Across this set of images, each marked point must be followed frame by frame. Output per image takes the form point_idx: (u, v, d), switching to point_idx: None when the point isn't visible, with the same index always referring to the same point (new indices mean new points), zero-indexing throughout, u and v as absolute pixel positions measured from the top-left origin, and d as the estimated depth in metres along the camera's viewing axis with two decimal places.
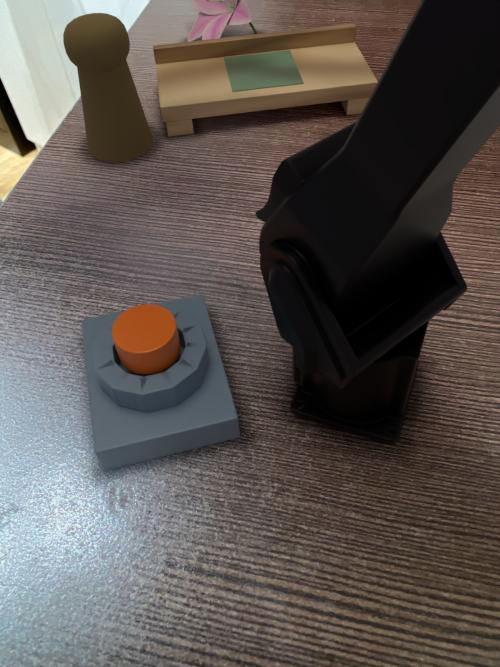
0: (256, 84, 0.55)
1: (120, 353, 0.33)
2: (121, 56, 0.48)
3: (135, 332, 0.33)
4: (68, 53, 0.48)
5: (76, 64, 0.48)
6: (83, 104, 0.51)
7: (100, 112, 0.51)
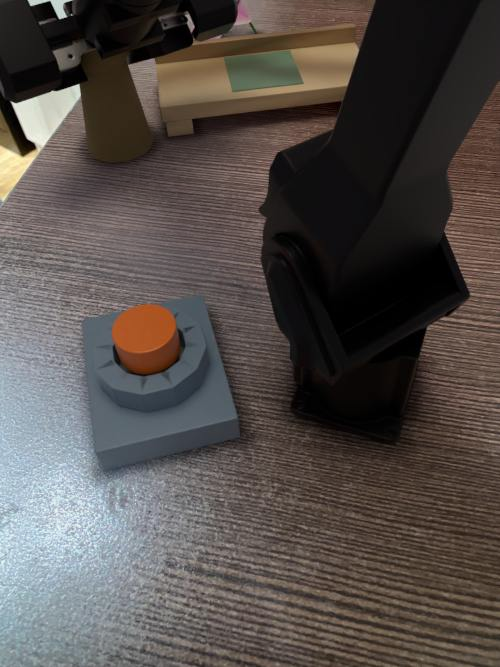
0: (256, 84, 0.55)
1: (120, 353, 0.33)
2: (121, 56, 0.48)
3: (135, 332, 0.33)
4: None
5: None
6: (83, 104, 0.51)
7: (100, 112, 0.51)
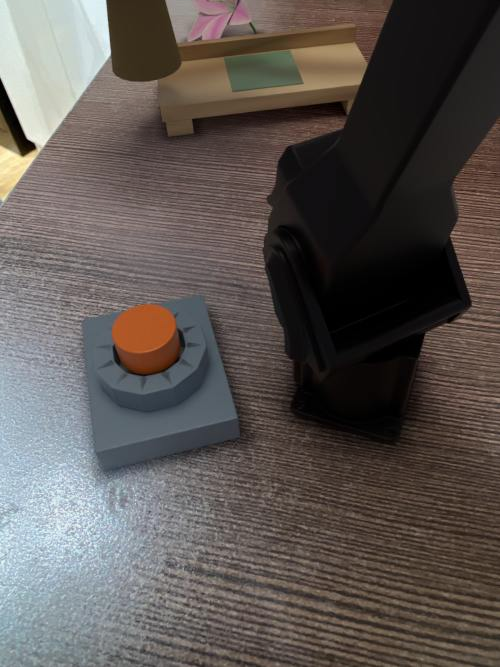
0: (256, 84, 0.55)
1: (120, 353, 0.33)
2: None
3: (135, 332, 0.33)
4: None
5: None
6: (108, 14, 0.48)
7: (124, 22, 0.47)
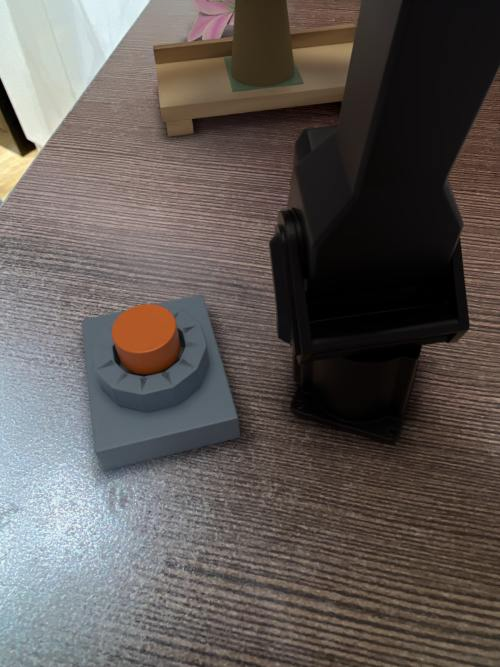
0: None
1: (120, 353, 0.33)
2: None
3: (135, 332, 0.33)
4: None
5: None
6: (234, 21, 0.53)
7: (245, 31, 0.52)
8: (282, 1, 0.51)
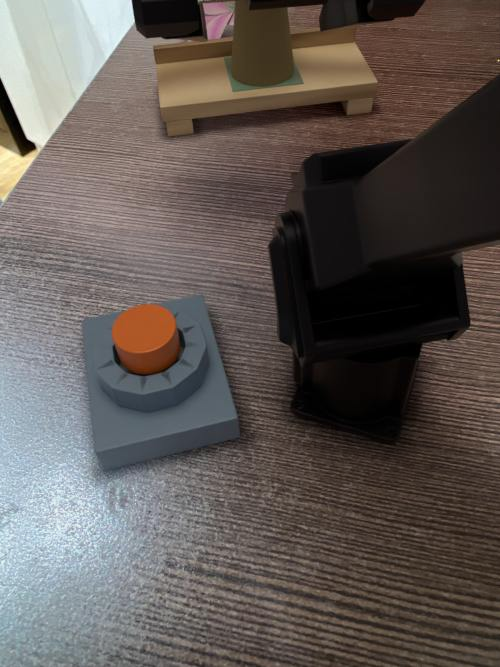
0: None
1: (120, 353, 0.33)
2: None
3: (135, 332, 0.33)
4: None
5: None
6: (234, 21, 0.53)
7: (245, 32, 0.52)
8: None
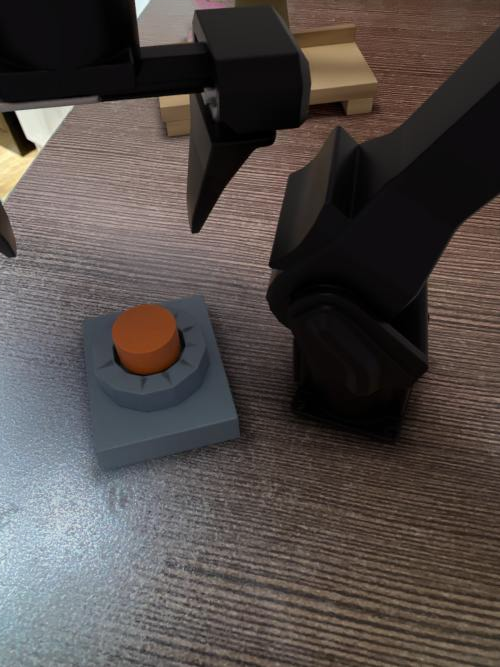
0: None
1: (120, 353, 0.33)
2: None
3: (135, 332, 0.33)
4: None
5: None
6: None
7: None
8: (282, 1, 0.51)
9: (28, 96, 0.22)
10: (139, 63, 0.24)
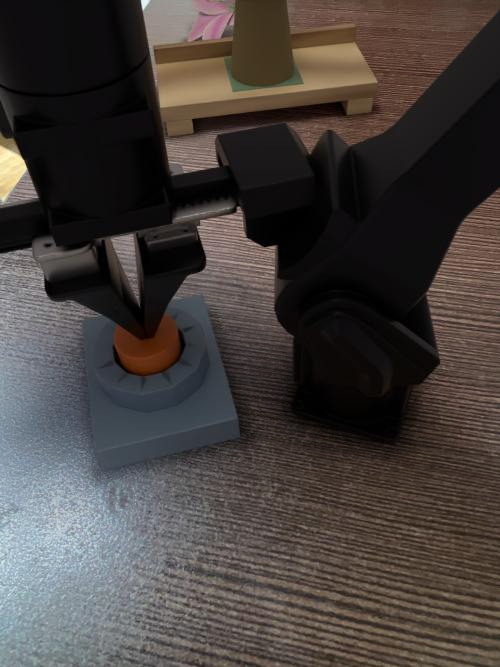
0: None
1: (122, 358, 0.34)
2: None
3: (136, 338, 0.34)
4: None
5: None
6: (234, 21, 0.53)
7: (245, 32, 0.52)
8: (282, 1, 0.51)
9: (78, 240, 0.24)
10: (172, 194, 0.26)
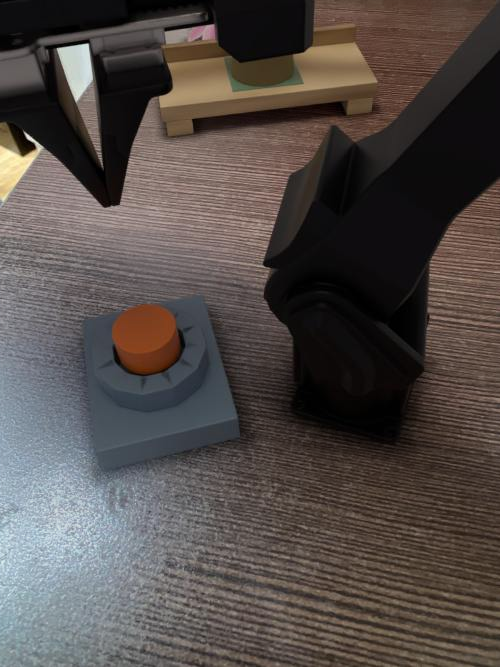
0: None
1: (120, 353, 0.33)
2: None
3: (135, 332, 0.33)
4: None
5: None
6: None
7: None
8: None
9: (14, 30, 0.20)
10: None
